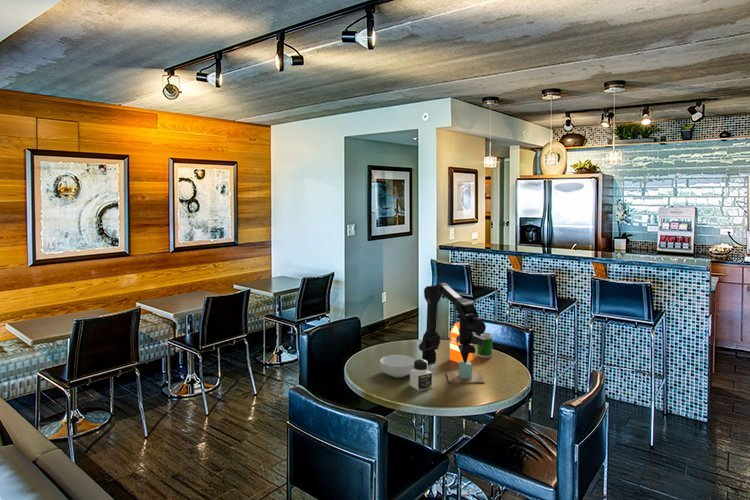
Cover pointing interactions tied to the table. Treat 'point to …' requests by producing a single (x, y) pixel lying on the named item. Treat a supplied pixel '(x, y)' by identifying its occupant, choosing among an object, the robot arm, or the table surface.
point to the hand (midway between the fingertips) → (465, 362)
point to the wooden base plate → (455, 378)
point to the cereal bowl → (397, 365)
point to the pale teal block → (465, 370)
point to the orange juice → (456, 345)
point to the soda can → (485, 346)
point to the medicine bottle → (420, 375)
